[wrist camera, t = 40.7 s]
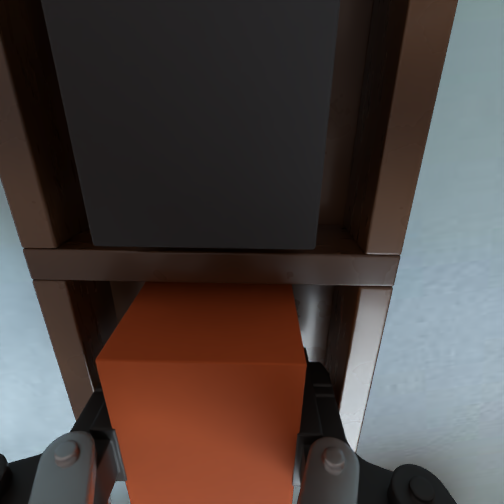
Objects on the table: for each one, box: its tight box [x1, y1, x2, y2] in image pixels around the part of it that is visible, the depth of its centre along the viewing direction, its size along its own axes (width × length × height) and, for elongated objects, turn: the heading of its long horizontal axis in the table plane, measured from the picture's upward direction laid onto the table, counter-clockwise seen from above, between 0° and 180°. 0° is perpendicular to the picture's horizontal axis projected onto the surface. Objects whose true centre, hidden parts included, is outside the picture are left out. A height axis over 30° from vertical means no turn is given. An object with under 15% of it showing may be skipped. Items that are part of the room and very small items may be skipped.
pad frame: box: [0, 0, 458, 453], centre depth 10 cm, size 20×10×3 cm, turn 179°
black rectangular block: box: [41, 0, 340, 250], centre depth 7 cm, size 7×5×4 cm
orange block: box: [95, 282, 307, 504], centre depth 11 cm, size 7×5×4 cm
